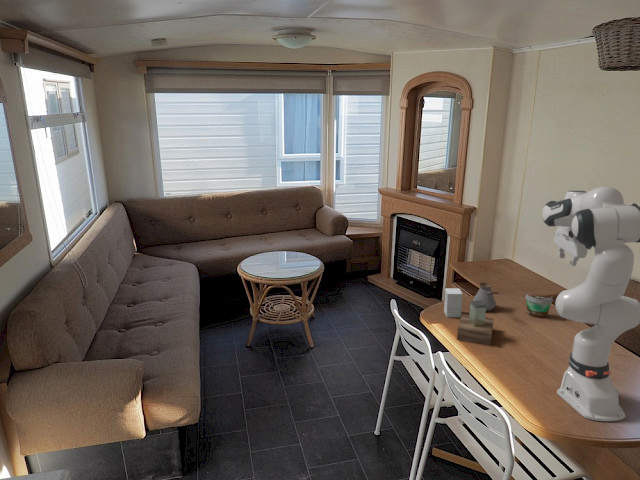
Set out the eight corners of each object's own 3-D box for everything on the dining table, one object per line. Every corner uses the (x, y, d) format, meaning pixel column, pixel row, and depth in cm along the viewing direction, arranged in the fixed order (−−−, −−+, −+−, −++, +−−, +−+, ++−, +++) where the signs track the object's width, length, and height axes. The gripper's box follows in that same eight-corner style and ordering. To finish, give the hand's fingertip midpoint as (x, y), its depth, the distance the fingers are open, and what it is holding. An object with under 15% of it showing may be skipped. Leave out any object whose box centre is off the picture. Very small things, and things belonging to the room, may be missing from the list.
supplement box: (458, 311, 235) (460, 288, 231) (461, 317, 228) (463, 294, 224) (443, 310, 236) (445, 287, 232) (445, 317, 229) (447, 293, 225)
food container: (524, 317, 227) (527, 298, 224) (523, 312, 233) (525, 293, 230) (552, 320, 224) (555, 301, 221) (550, 315, 229) (553, 296, 227)
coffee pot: (468, 303, 244) (470, 276, 239) (490, 303, 244) (492, 276, 240) (483, 322, 223) (486, 293, 219) (507, 321, 223) (510, 292, 219)
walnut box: (490, 346, 202) (491, 334, 200) (456, 340, 207) (457, 328, 205) (492, 330, 216) (493, 318, 214) (461, 325, 221) (462, 313, 220)
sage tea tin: (484, 325, 208) (486, 305, 205) (473, 326, 207) (475, 305, 204) (479, 320, 213) (481, 300, 210) (468, 321, 212) (470, 301, 209)
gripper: (552, 223, 200) (548, 253, 204) (576, 236, 180) (571, 269, 184) (566, 222, 200) (562, 253, 204) (593, 236, 180) (587, 269, 184)
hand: (567, 261), depth 194 cm, fingers open, 8 cm apart
